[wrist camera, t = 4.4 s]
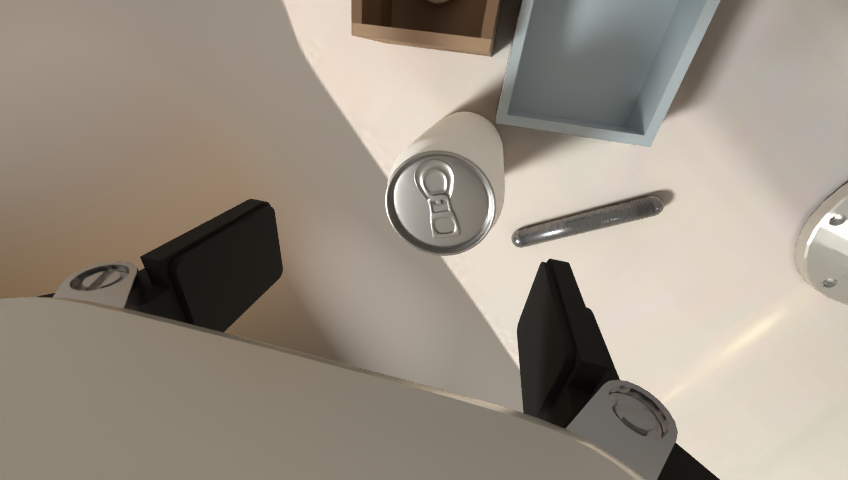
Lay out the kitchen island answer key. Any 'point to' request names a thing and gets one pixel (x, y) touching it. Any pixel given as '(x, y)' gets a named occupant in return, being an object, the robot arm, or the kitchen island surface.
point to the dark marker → (589, 221)
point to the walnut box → (429, 23)
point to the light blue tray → (600, 65)
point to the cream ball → (438, 1)
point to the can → (448, 185)
